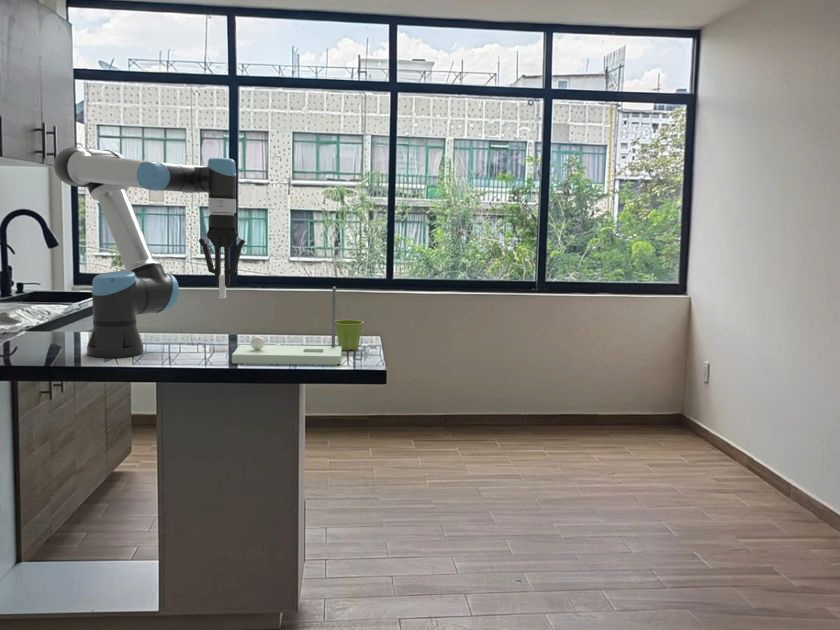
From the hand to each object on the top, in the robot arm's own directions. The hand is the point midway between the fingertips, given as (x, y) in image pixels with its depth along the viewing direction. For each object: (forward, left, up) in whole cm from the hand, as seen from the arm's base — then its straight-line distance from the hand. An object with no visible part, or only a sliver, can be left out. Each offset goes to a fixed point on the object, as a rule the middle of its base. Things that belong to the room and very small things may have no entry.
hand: (222, 297), depth 218 cm
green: (+19, +2, -17) cm, 26 cm away
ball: (+10, 0, -13) cm, 16 cm away
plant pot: (+36, +18, -18) cm, 44 cm away
